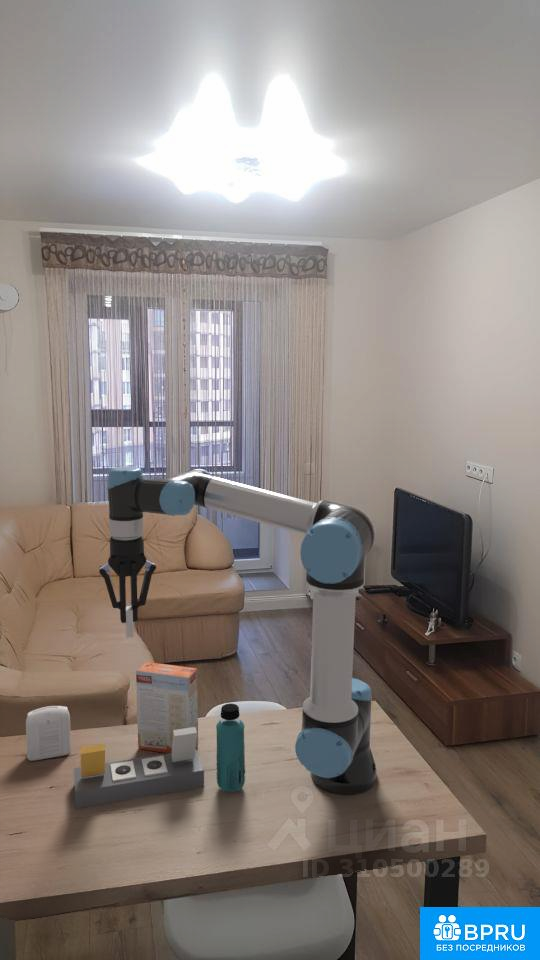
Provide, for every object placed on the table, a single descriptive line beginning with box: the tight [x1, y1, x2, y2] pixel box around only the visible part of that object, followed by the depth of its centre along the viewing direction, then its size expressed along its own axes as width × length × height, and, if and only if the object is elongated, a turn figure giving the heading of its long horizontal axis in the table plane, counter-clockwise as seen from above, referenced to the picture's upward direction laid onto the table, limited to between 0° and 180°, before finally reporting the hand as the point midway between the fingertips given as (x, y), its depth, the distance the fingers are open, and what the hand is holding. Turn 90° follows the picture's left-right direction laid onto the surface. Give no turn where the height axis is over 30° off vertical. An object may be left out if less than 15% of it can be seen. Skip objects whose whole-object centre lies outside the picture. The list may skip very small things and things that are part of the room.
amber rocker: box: [79, 743, 106, 778], centre depth 151 cm, size 5×2×10 cm, turn 107°
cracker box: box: [135, 661, 199, 754], centre depth 171 cm, size 14×6×21 cm, turn 73°
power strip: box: [73, 748, 205, 809], centre depth 157 cm, size 28×9×4 cm, turn 107°
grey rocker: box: [172, 727, 197, 763], centre depth 157 cm, size 5×2×10 cm, turn 107°
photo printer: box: [25, 705, 72, 762], centre depth 168 cm, size 10×4×12 cm, turn 111°
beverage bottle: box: [215, 703, 246, 792], centre depth 155 cm, size 6×7×20 cm
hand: (129, 634), depth 160 cm, fingers closed
